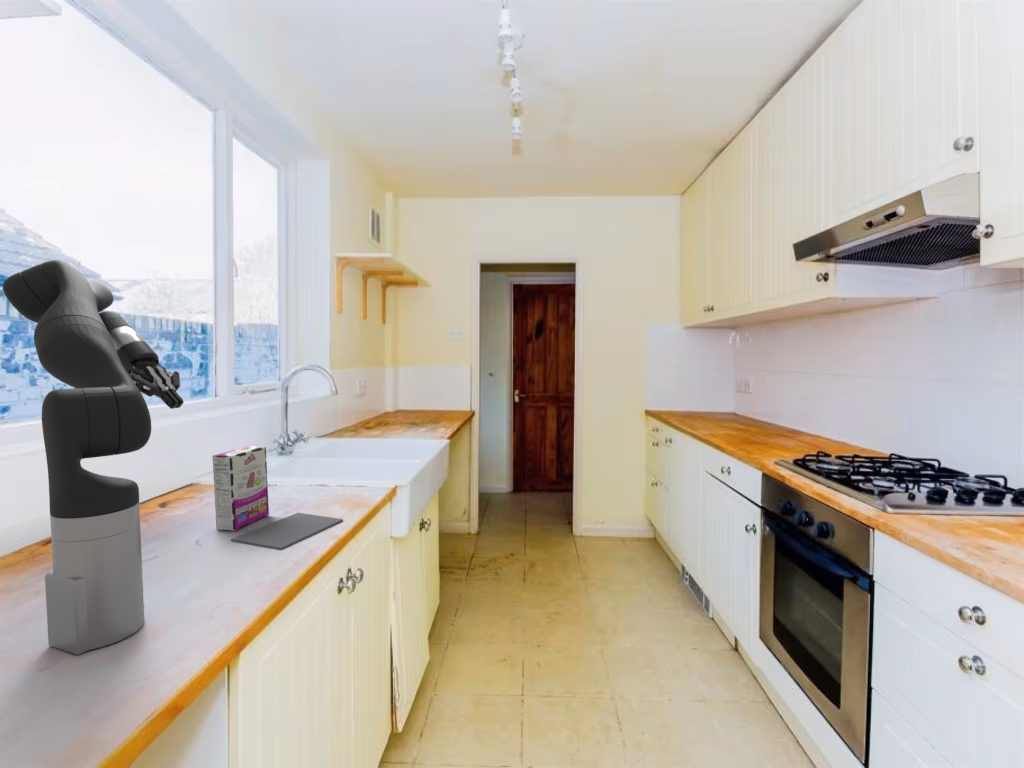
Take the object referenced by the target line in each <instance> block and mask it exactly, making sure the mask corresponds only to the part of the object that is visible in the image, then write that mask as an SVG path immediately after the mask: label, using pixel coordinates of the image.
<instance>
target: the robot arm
mask: <svg viewBox="0 0 1024 768" xmlns="http://www.w3.org/2000/svg"><path fill="white" fill-rule="evenodd" d="M2 291H3V294H4V295H5V297H6V300H8V302H9V303H10V304H11V306H12V307H13V308H14V309H16V311H17V312H18V313H19V314H21V315H22V316H23V317H24V318H26V319H27V320H29V321H31V322H33V323H36V326H35V329H34V332H33V333H34V334H33V343H34V347H35V350H36V353H37V358H38V361H39V363H40V364H41V367H42V368H43V369H44V370H45V371H46V372H47V373H48V374H49V375H51V376H53V378H55V379H57V380H59V381H60V382H62V383H64V384H66V385H68V386H70V387H71V388H60V389H59V388H58V389H54V390H51V391H50V392H48V393H47V394H46V395H45V397H44V400H43V402H42V405H41V406H42V407H41V426H42V435H43V443H44V449H45V456H46V457H45V458H46V464H47V465H46V466H47V476H48V492H49V493H48V494H49V495H48V496H49V514H50V515H49V517H50V522H49V523H50V536H51V538H50V539H51V540H50V541H51V555H52V556H51V557H52V571H50V572H47V573H46V574H45V575H44V584H45V605H46V620H47V621H46V623H47V639H48V646H50V647H53V648H56V649H59V650H62V651H65V652H68V653H71V654H74V655H75V656H76V655H80V654H83V653H85V652H87V651H90V650H94V649H99V648H103V647H106V646H108V645H109V646H110V645H112V644H115V643H117V642H119V641H122V640H124V639H127V638H128V637H130V636H132V635H134V634H135V633H136V632H138V631H139V630H140V629H141V628H142V627H143V626H144V624H145V602H144V580H143V579H144V578H143V560H142V559H143V555H142V554H143V553H142V535H141V534H142V533H141V532H142V530H141V509H140V507H141V506H140V504H141V503H140V491H139V490H140V489H139V485H138V483H137V482H136V481H134V480H132V479H129V478H124V477H118V476H117V477H115V476H108V475H104V474H103V475H102V474H98V473H95V472H93V471H89V470H87V469H85V468H84V467H82V465H81V461H82V460H83V459H92V458H93V459H94V458H100V457H111V456H118V455H124V454H129V453H133V452H137V451H140V450H141V449H142V448H144V447H145V446H146V445H147V443H149V440H150V437H151V434H152V419H151V414H150V410H149V407H148V404H147V402H146V400H145V398H144V396H143V394H144V395H146V396H148V397H153V396H155V397H156V398H158V399H161V400H162V402H163V403H164V404H165V405H166V406H167V407H169V408H170V409H179V408H181V407H182V405H183V404H184V399H183V398H182V397H181V395H179V393H178V392H177V391H178V390H179V388H181V379H180V378H181V377H180V372H178V371H176V370H175V371H173V372H170V371H168V370H167V368H165V366H163V365H161V363H160V362H159V361H160V360H159V359H160V358H159V355H158V354H157V353H156V352H155V351H154V350H153V348H152V347H151V346H150V345H149V343H147V342H146V340H145V339H144V338H143V337H142V336H141V335H140V334H139V333H138V332H136V331H135V330H134V329H133V328H132V327H131V325H130V324H129V323H128V322H127V321H126V320H125V319H124V318H123V316H121V314H120V313H118V312H116V311H111V310H110V311H104V310H105V309H107V308H108V309H109V307H111V306H112V305H113V303H114V294H113V292H112V291H111V290H110V288H109V287H108V286H106V285H105V284H104V283H102V282H100V281H99V280H96V279H92V278H87V277H86V276H85V275H84V273H83V272H82V271H81V270H80V269H78V268H77V267H76V266H75V265H74V264H72V263H71V262H69V261H66V260H64V259H50V260H48V261H47V260H46V261H44V262H42V263H39V264H36V265H34V266H31V267H28V268H26V269H24V270H22V271H18V272H16V273H14V274H12V275H10V276H9V277H7V278H6V279H5V280H4V281H3V284H2Z"/></svg>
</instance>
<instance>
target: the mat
mask: <svg viewBox="0 0 1024 768" xmlns="http://www.w3.org/2000/svg"><path fill="white" fill-rule="evenodd" d="M343 521H344V519H343V518H339V517H337V518H336V517H330V516H324V515H318V514H311V513H310V514H309V513H302V512H296V513H293V514H291V515H288V516H285V517H283V518H280V519H279V520H275V521H273V522H271V523H267V524H265V525H263V526H260V527H257V528H254V529H253V530H251V531H248V532H244V533H242V534H241V535H237V536H235V537H233V538H230V541H231V542H235V543H236V542H237V543H241V544H246V545H251V546H258V547H263V548H269V549H275V550H280V551H281V550H284V549H286V548H288V547H290V546H293V545H294V544H297V543H299V542H301V541H304V540H305V539H307V538H310V537H311V536H314V535H316V534H318V533H320V532H323V531H325V530H327V529H329V528H331V527H334V526H335V525H338V524H339V523H342V522H343Z"/></svg>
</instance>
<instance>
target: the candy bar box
mask: <svg viewBox="0 0 1024 768" xmlns="http://www.w3.org/2000/svg"><path fill="white" fill-rule="evenodd" d="M267 464H268V461H267V446H266V445H264V446H261V445H247V446H244V447H239V448H236V449H231V450H229V451H225V452H221V453H219V454H214V455H212V467H213V468H212V470H213V488H214V504H215V505H214V507H215V523H216V524H215V525H216V528H215V530H216V531H217V530H218V531H222V532H224V531H226V532H236V531H239V530H241V529H243V528H246V527H247V526H249V525H251V524H253V522H254V523H255V521H256V522H257V521H259V520H262V519H264V518H266V517H268V516H270V511H269V510H270V509H269V507H270V506H269V491H268V490H269V489H268V487H269V486H268V485H269V484H268V465H267Z"/></svg>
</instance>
